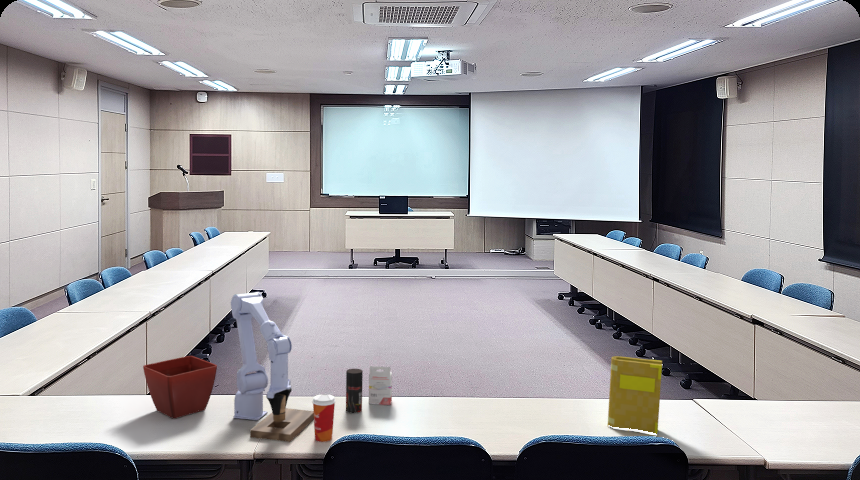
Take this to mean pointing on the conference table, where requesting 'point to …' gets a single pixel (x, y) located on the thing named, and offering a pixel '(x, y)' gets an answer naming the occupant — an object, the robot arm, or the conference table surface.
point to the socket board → (283, 425)
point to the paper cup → (323, 417)
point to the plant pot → (180, 385)
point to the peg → (281, 411)
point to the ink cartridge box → (380, 386)
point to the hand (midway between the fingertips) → (279, 412)
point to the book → (634, 393)
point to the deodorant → (354, 390)
